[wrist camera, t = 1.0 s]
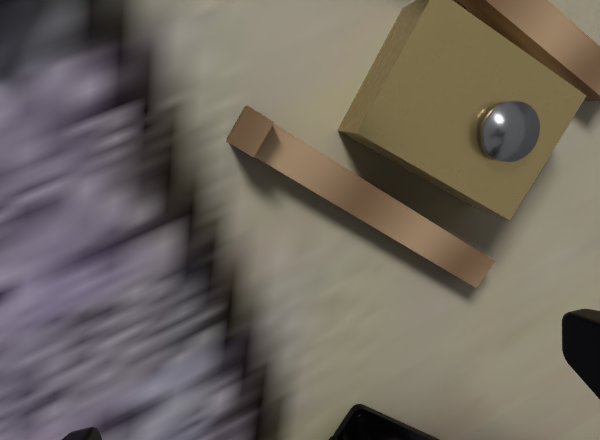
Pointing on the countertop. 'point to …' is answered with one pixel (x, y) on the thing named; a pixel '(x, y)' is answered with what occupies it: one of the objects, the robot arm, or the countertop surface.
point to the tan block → (461, 107)
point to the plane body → (385, 209)
